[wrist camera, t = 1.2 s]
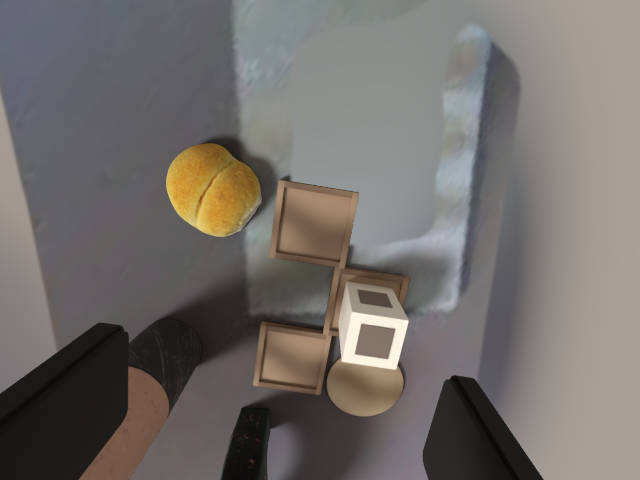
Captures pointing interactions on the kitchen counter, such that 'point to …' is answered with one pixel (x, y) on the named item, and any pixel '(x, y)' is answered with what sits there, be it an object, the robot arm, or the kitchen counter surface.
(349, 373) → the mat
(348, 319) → the white box with panels
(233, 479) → the ceramic cat
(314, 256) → the tray
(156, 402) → the travel mug
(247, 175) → the bread roll
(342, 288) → the tray
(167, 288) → the kitchen counter surface
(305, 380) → the tray
